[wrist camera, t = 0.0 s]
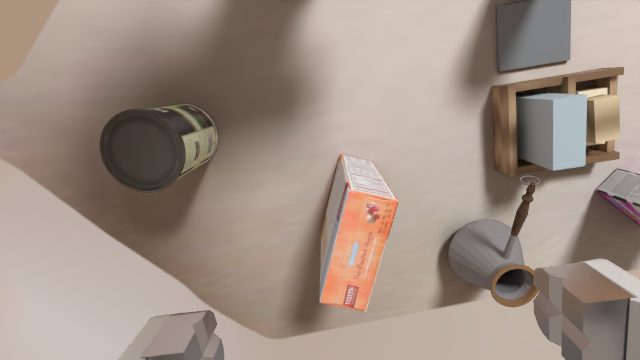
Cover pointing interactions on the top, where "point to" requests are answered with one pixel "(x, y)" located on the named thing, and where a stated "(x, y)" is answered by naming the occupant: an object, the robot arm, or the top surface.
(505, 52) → the mat
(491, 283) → the coffee pot
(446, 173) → the top surface
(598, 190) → the candy bar box
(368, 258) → the cracker box
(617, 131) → the upper offcut
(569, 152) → the board
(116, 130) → the coffee can
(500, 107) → the rack
